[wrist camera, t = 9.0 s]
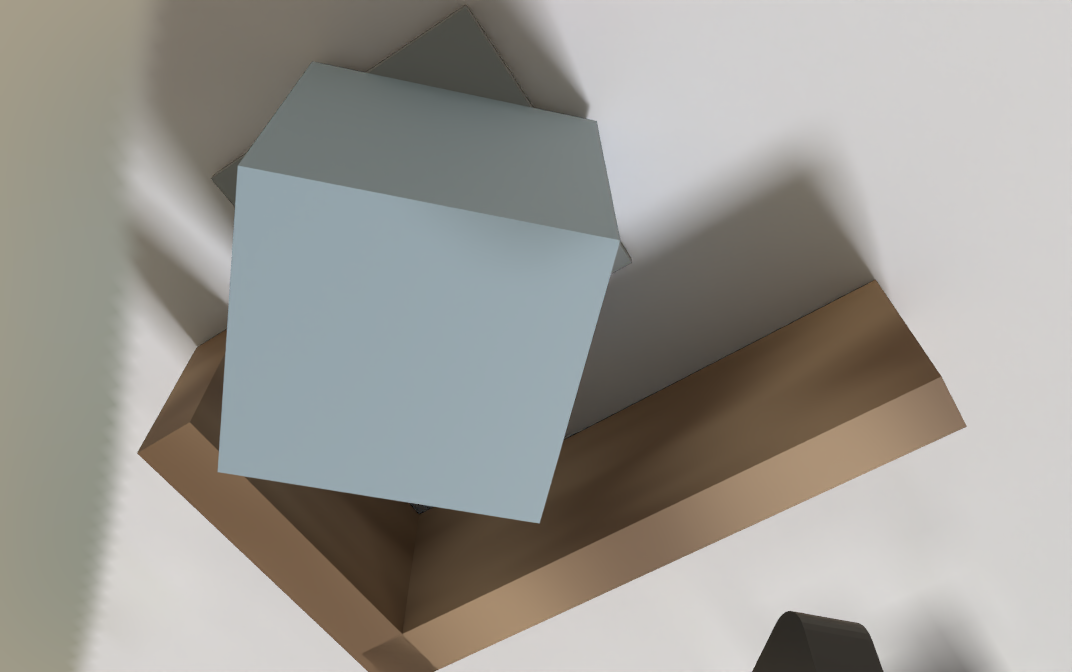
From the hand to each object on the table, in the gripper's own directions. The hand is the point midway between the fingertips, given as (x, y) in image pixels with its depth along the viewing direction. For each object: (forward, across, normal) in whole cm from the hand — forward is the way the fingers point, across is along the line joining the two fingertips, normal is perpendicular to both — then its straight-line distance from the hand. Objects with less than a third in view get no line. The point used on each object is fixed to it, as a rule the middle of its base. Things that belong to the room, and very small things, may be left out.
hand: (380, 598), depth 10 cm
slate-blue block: (+10, 0, 0) cm, 10 cm away
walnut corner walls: (+10, -2, +2) cm, 10 cm away
